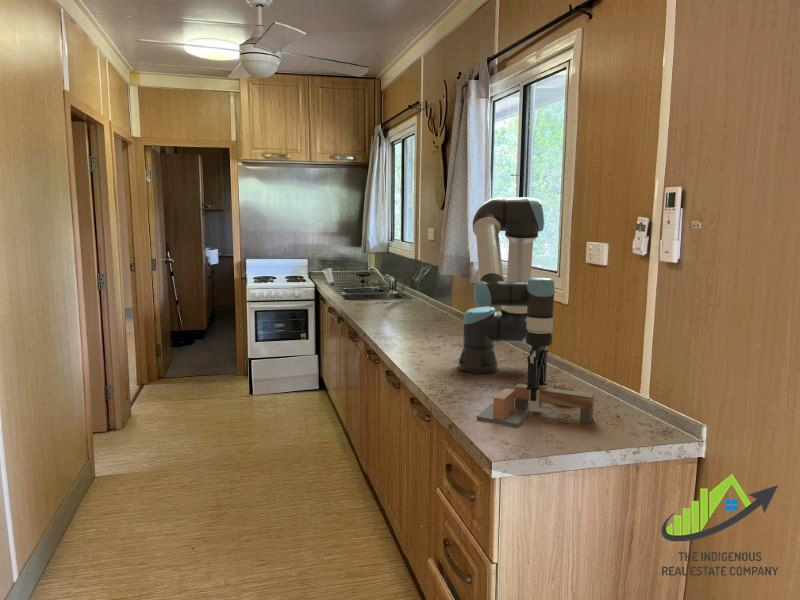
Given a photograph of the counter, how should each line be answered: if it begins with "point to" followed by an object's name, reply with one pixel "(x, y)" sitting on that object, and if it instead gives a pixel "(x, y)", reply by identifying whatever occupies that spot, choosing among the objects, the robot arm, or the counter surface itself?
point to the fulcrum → (504, 410)
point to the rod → (558, 396)
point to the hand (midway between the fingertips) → (535, 408)
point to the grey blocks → (585, 414)
